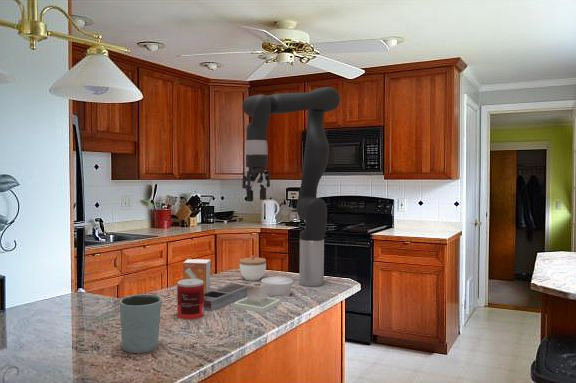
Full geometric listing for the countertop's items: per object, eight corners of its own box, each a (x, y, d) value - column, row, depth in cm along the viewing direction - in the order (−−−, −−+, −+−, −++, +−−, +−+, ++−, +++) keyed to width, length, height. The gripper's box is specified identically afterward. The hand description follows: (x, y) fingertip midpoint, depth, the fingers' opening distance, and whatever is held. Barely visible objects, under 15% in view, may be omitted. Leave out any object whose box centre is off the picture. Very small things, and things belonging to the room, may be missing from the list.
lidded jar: (233, 279, 196) (233, 256, 195) (252, 274, 204) (252, 252, 203) (253, 283, 189) (253, 259, 188) (271, 278, 197) (271, 255, 197)
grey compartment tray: (230, 294, 172) (230, 283, 172) (250, 297, 169) (250, 285, 168) (190, 310, 153) (190, 297, 153) (211, 314, 149) (211, 301, 149)
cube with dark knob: (255, 304, 159) (255, 282, 158) (267, 305, 157) (267, 283, 156) (247, 307, 155) (247, 285, 154) (259, 309, 152) (259, 287, 152)
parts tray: (251, 302, 163) (251, 295, 163) (280, 306, 158) (280, 299, 158) (232, 310, 153) (232, 303, 153) (263, 315, 148) (263, 308, 148)
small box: (182, 301, 164) (182, 262, 163) (187, 296, 170) (187, 258, 170) (206, 301, 163) (206, 262, 163) (210, 296, 170) (210, 259, 169)
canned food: (194, 312, 151) (193, 277, 150) (209, 318, 145) (209, 281, 145) (172, 318, 146) (171, 281, 145) (187, 324, 140) (186, 286, 139)
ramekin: (292, 299, 167) (292, 284, 167) (259, 299, 167) (259, 283, 167) (292, 291, 178) (293, 276, 178) (262, 290, 179) (262, 276, 178)
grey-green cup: (138, 337, 129) (137, 292, 128) (170, 343, 125) (170, 296, 124) (110, 350, 120) (110, 302, 119) (144, 357, 116) (144, 307, 115)
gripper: (258, 154, 178) (258, 199, 178) (235, 153, 165) (235, 201, 166) (276, 154, 174) (276, 199, 175) (255, 153, 162) (254, 202, 162)
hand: (256, 200), depth 170 cm, fingers open, 8 cm apart
